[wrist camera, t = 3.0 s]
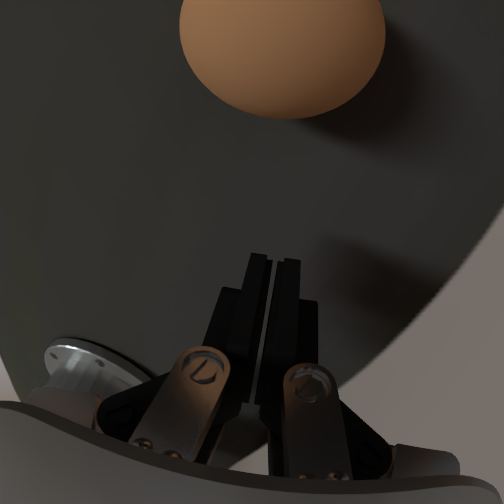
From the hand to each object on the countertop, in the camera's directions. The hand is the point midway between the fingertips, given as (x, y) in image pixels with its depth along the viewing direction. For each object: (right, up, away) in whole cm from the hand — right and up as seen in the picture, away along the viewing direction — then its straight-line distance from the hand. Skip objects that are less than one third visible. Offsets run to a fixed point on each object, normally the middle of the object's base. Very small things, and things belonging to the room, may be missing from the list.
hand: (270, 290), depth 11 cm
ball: (0, +8, -4) cm, 9 cm away
